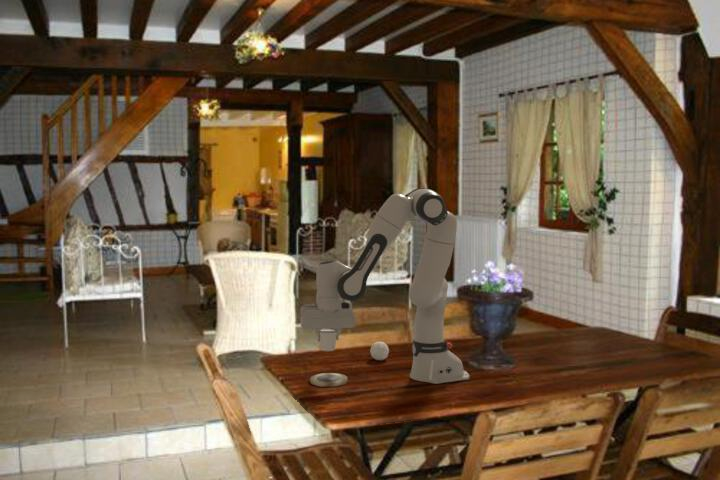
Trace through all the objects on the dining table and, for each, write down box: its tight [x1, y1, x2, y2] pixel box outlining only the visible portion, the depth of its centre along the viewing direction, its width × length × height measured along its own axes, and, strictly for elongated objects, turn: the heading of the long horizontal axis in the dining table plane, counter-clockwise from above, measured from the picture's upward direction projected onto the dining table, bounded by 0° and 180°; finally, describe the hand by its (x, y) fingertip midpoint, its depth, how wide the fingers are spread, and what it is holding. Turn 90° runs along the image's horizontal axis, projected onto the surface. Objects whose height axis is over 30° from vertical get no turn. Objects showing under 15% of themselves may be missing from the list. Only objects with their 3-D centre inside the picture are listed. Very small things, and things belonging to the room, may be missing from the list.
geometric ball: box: [369, 341, 390, 361], centre depth 298 cm, size 8×8×8 cm
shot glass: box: [318, 328, 338, 352], centre depth 266 cm, size 7×7×7 cm
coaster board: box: [309, 372, 348, 388], centre depth 268 cm, size 14×14×1 cm
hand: (327, 340), depth 266 cm, fingers closed on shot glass, 5 cm apart
